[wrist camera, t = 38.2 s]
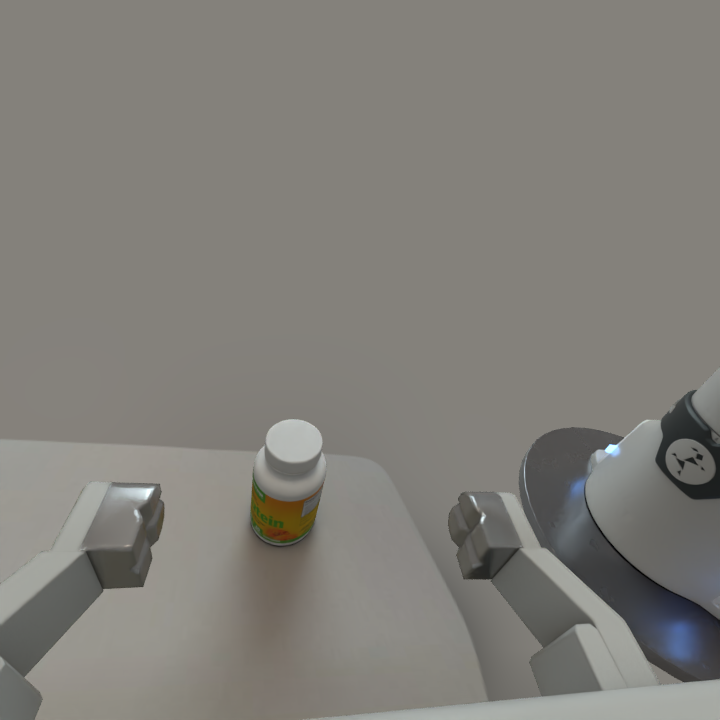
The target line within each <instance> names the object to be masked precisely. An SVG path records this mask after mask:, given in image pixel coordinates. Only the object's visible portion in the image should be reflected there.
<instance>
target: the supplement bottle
mask: <svg viewBox="0 0 720 720" xmlns="http://www.w3.org/2000/svg"><path fill="white" fill-rule="evenodd" d="M322 446H323V440H322V437H321V434H320V432H319V431H318V429H317V428H316V427H314V426H313V425H312V424H310V423H308V422H306V421H302V420H297V419H290V420H284V421H281V422H279V423H277V424H275V425H274V426H273V427H272V428H271V429H270V430H269V432H268V433H267V436H266V440H265V445H264V446H263V447H262V448H261V450H260V451H259V452H258V454H257V456H256V458H255V461H254V467H253V482H252V498H251V512H250V518H251V524H252V527H253V529H254V531H255V533H256V534H257V535H258V536H259V537H260V538H261V539H262V540H264V541H265V542H267V543H270V544H273V545H279V546H284V545H290V544H293V543H296V542H298V541H300V540H301V539H302V538H304V537H305V536H306V535H307V534H308V533H309V531H310V530H311V528H312V526H313V524H314V521H315V517H316V513H317V509H318V505H319V501H320V497H321V493H322V488H323V484H324V480H325V476H326V460H325V457H324V455H323V453H322Z"/></svg>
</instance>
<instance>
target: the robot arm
mask: <svg viewBox="0 0 720 720" xmlns="http://www.w3.org/2000/svg"><path fill="white" fill-rule="evenodd" d="M591 465H592V473H591V475H590V476H589V478H588V480H587V482H586V487H585V494H586V500H587V504H588V507H589V509H590V512H591V514H592V516H593V518H594V519H595V521H596V523H597V525H598V526H599V528H600V529H601V531H602V532H603V533H604V535H605V536H606V537H607V539H608V540H609V541H610V542H611V544H612V545H613V546H614V547H615V548H616V549H617V550H618V551H619V552H620V553H621V554H622V555H623V556H624V557H625V558H626V559H627V560H628V561H629V562H630V563H631V564H632V565H634V566H635V567H636V568H637V569H638V570H640V571H641V572H642V573H643V574H645V575H646V576H648V577H649V578H650V579H652V580H653V581H655V582H656V583H658V584H659V585H661V586H663V587H665V588H666V589H668V590H670V591H672V592H674V593H676V594H678V595H680V596H682V597H684V598H687V599H689V600H691V601H693V602H695V603H696V604H698V605H700V606H701V607H703V608H704V609H705V610H706V611H708V612H709V613H710V614H712V615H713V616H714V617H716V618H717V619H718V620H720V368H718V369H717V371H715V373H714V374H713V375H712V376H711V377H710V378H709V379H708V380H707V381H706V382H705V383H704V384H703V385H702V386H701V387H700V388H699V389H698V390H693V391H690V392H688V393H687V394H686V395H685V396H684V397H683V398H682V399H680V400H678V401H677V402H676V403H675V404H674V405H673V406H672V407H671V408H670V411H669V412H668V413H667V414H666V415H665V416H664V417H663V418H662V420H645V421H643V422H642V423H640V424H639V425H638V426H637V427H636V428H635V429H634V430H633V431H632V432H630V433H629V434H628V435H627V436H626V437H625V438H624V439H623V440H622V441H620V442H619V443H618V444H617V445H609V446H608V447H607V448H606V450H597V451H595V452H594V453H593V454H592V455H591ZM161 492H162V491H161V487H160V484H147V483H116V482H89V483H88V484H87V485H86V486H85V487H84V488H83V490H82V492H81V494H80V496H79V497H78V499H77V501H76V503H75V505H74V507H73V509H72V510H71V512H70V514H69V516H68V518H67V520H66V522H65V523H64V525H63V527H62V529H61V531H60V533H59V535H58V536H57V538H56V540H55V542H54V544H53V546H52V548H51V549H50V551H42V552H40V553H39V554H38V555H37V556H35V557H34V558H33V559H31V560H30V561H29V562H28V563H26V564H25V565H24V566H22V567H21V568H20V569H19V570H17V571H16V572H15V573H13V574H12V575H11V576H10V577H8V578H7V579H6V580H4V581H3V582H2V583H1V584H0V720H34V719H35V717H36V714H37V712H38V710H39V707H40V705H41V702H42V700H43V699H42V696H41V694H40V692H39V691H38V690H37V689H36V688H35V687H34V686H33V685H31V684H30V683H29V682H28V681H27V680H26V679H25V678H24V677H25V676H26V675H27V674H28V672H29V671H30V670H31V669H32V668H33V667H34V666H35V665H36V664H37V663H38V662H39V661H40V659H41V658H42V657H43V656H44V655H45V654H46V653H47V652H48V651H49V650H50V649H51V648H52V647H53V645H54V644H55V643H56V642H57V641H58V640H59V639H60V638H61V637H62V636H63V635H64V634H65V632H66V631H67V630H68V629H69V628H70V627H71V626H72V625H73V624H74V623H75V622H76V621H77V619H78V618H79V617H80V616H81V615H82V614H83V613H84V612H85V611H86V610H87V609H88V608H89V606H90V605H91V604H92V603H93V602H94V601H95V600H96V599H97V598H98V597H99V596H100V595H101V593H102V592H103V589H112V588H132V587H143V586H144V583H145V580H146V577H147V574H148V570H149V567H150V564H151V561H152V554H151V550H150V547H151V546H152V545H153V544H154V543H155V542H157V541H158V539H159V536H160V533H161V529H162V525H163V519H164V502H163V501H161V500H160V499H159V498H160V495H161ZM458 500H459V504H457V505H456V506H454V507H453V508H452V509H451V511H450V513H449V520H448V526H449V532H450V535H451V539H452V540H453V542H454V543H455V544H456V545H457V546H458V547H459V548H458V552H457V555H456V556H457V559H458V562H459V565H460V569H461V572H462V575H463V579H492V580H491V582H492V583H493V585H494V586H495V587H496V588H497V590H498V591H499V592H500V593H501V595H502V596H503V597H504V598H505V600H506V601H507V602H508V604H509V605H510V606H511V607H512V608H513V610H514V611H515V612H516V614H517V615H518V616H519V617H520V619H521V620H522V621H523V622H524V624H525V625H526V626H527V628H528V629H529V630H530V631H531V633H532V634H533V635H534V636H535V638H536V639H537V640H538V641H539V643H540V644H541V645H542V646H543V649H541V650H540V651H538V652H537V653H536V654H534V655H533V656H532V657H531V659H530V662H529V663H530V665H531V668H532V671H533V673H534V677H535V679H536V682H537V685H538V688H539V690H540V693H541V696H542V697H532V698H523V699H511V700H501V701H492V702H480V703H470V704H460V705H449V706H439V707H429V708H418V709H408V710H398V711H388V712H377V713H367V714H357V715H346V716H336V717H326V718H315V719H305V720H720V679H717V680H707V681H697V682H686V683H676V684H666V685H661V684H660V682H659V680H658V678H657V677H656V675H655V673H654V671H653V670H652V668H651V666H650V664H649V663H648V661H647V659H646V657H645V656H644V654H643V652H642V650H641V648H640V647H639V645H638V643H637V641H636V640H635V638H634V636H633V634H632V633H631V631H630V629H629V627H628V626H627V624H626V622H625V620H624V619H622V618H621V617H620V616H619V615H618V614H617V613H616V612H615V611H614V610H613V609H612V608H610V607H609V606H608V605H607V604H606V603H605V602H604V601H603V600H602V599H601V598H600V597H598V596H597V595H596V594H595V593H594V592H593V591H592V590H591V589H590V588H589V587H588V586H587V585H585V584H584V583H583V582H582V581H581V580H580V579H579V578H578V577H577V576H576V575H575V574H573V573H572V572H571V571H570V570H569V569H568V568H567V567H566V566H565V565H564V564H563V563H561V562H560V561H559V560H558V559H557V558H556V557H555V556H554V555H553V554H552V553H551V552H550V551H548V550H547V549H546V548H541V546H540V544H539V542H538V540H537V538H536V536H535V534H534V532H533V530H532V528H531V526H530V524H529V522H528V520H527V518H526V516H525V514H524V512H523V510H522V508H521V506H520V503H519V501H518V499H517V498H516V496H515V495H514V494H512V493H499V492H463V493H461V495H460V496H459V498H458Z"/></svg>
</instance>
